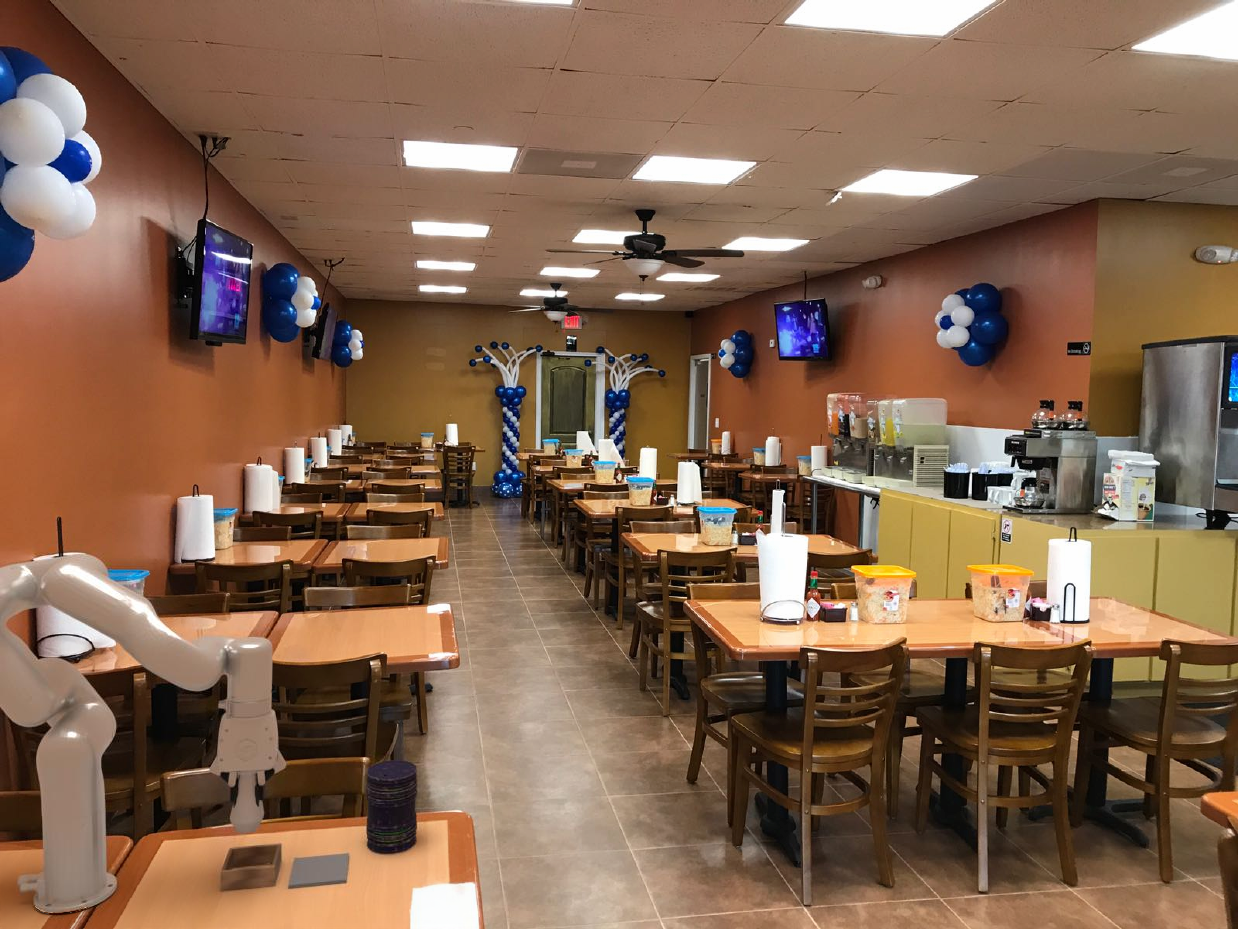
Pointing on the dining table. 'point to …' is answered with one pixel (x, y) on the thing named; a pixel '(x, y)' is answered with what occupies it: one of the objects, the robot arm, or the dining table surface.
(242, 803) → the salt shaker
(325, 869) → the coaster
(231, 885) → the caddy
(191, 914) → the dining table surface
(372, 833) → the dark blue cylinder
